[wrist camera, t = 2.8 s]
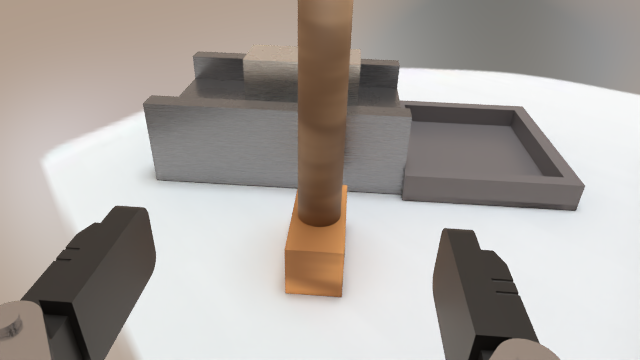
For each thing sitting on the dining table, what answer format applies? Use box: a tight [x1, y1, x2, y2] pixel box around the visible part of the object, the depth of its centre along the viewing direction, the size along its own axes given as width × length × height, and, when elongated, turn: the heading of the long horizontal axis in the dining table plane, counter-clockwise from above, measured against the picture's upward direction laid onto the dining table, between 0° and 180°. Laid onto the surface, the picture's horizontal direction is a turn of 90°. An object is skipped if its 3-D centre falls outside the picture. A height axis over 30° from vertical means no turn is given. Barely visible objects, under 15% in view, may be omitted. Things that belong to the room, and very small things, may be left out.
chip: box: [243, 45, 298, 103], centre depth 36 cm, size 4×4×4 cm
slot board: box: [143, 52, 412, 194], centre depth 38 cm, size 18×12×6 cm
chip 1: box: [347, 49, 361, 106], centre depth 36 cm, size 4×4×4 cm
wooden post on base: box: [285, 0, 353, 297], centre depth 24 cm, size 3×6×15 cm, turn 176°
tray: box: [400, 101, 585, 210], centre depth 38 cm, size 12×14×2 cm
